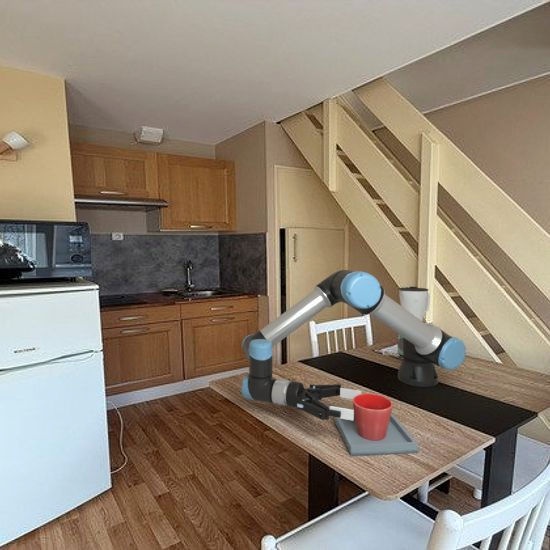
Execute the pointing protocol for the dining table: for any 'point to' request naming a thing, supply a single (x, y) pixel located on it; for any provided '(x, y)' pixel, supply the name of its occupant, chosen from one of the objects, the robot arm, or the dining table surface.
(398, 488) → the dining table surface
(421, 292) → the juicer
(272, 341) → the robot arm
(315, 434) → the dining table surface
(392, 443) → the tray
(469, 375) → the dining table surface
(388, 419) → the flower pot
